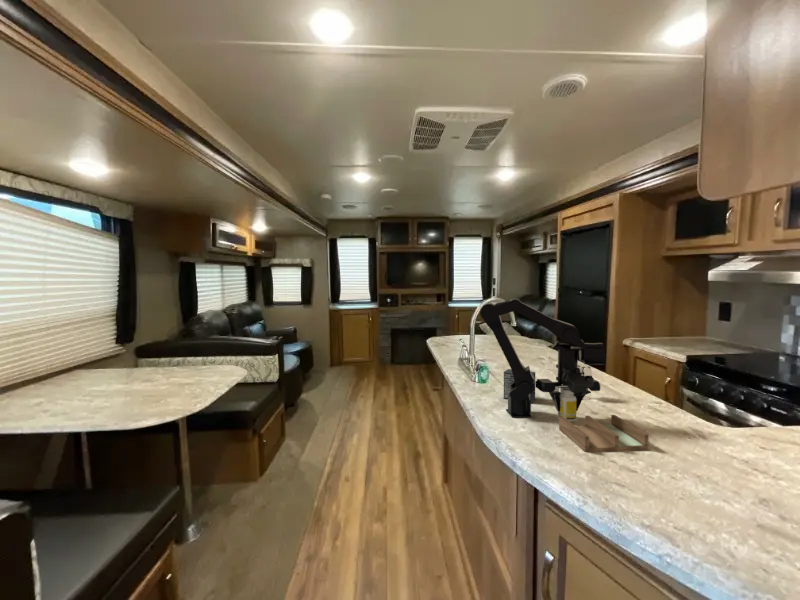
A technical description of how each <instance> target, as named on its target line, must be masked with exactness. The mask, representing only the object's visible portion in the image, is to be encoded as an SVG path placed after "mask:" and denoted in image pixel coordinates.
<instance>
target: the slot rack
mask: <svg viewBox="0 0 800 600" xmlns="http://www.w3.org/2000/svg"><path fill="white" fill-rule="evenodd" d="M610 416H611V419H610V424H602V423H601V422H599V421H597V420H596V419H595V418H593V417H591V416H590V415H585V418H584V419H585V422H584V425H574V424H573V423H572V422H571V421H568V420H567V419H565V418H564V417H563V416H559V418H558V424H559V425H558V429H559V432H561V433H562V434H564V435H565V436H566V437H567V438H568V439H569V440H571V442H573V443H574V444H575V445H576V446H577V447H579V448H580V449H581V450H582V451H583V452H585V453H589V452H591V453H592V452H622V451H648V450H649V437H650V435H649V434H648V433H646V432H644V431H642V430H641V429H639V428H638V427H636V426H635V425H633V424H631V423H629V422H628V421H626V420H624V419H623V418H621V417H619V416H617V415H615V414H611V415H610Z"/></svg>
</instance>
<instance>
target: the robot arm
mask: <svg viewBox="0 0 800 600" xmlns="http://www.w3.org/2000/svg"><path fill="white" fill-rule="evenodd" d="M512 312H515V313H517V314H519V315H521V316H523V317H525V318H527V319H528V320H530V321H531V322H534V323H536V324H538V325H539V326H541V327H543V328H546V329H547V330H548V331H549V332H551V333H552V334H553V335H554V336H555V337H557V338H558V339H559V340H560V341H562V342H563V343H560V342H559V341H558V340H556V341H555V343H553V344H552V345H551V349H553V350H557V364H555V368H556V369H557V376H555V380H556V381H552V380H551V379H549V378H537V380H536V377H535V378H534V375H533V374H532V373H531V372H532V371H531V368H530V365H528V366H526V367H525V366H524V365H523V363H522V361H521V360H520V358H519V355H518V353H517V352H516V350H515V347H514V346H513V343H512V342H511V339H510V338H509V336H508V333H507V331H506V329H505V327H504V325H503V321H502V317H501V316H502V315H503V316H504V315H506V314H509V313H512ZM479 315H480V317H481V319H482V320H483V321H484V323H485V324H486V325H487V326H488V327H489V329H490V330H491V332H492V333H493V335H494V337H495V339H496V342H497V343H498V345H499V347H500V349H501V351H502V353H503V355H504V357H505V360H506V362H507V363H508V365H509V367H510V369H511V370H512V374H513V378H514V381H515V382H514V383H512V384H511V385H510V392H509V394H508V400H507V408H505V411H506V412H507V413H508V414H509V416H510V417H511V418H532V414H531V413H532V403H531V401H530V400H529V399H530V397H529V396H528V395H529V394H530V393H532V392H533V391H534V388H535V389H538V390H539V391H541V392H542V393H549V395H550V398H551V400H552V402H553V404H554V406H555V409H556V411H557V413H558V412H560V395H561V392H560V390H559V389H561V388H569V389H570V391H571V392H572V393H574V394H573V395H574V396H575V397H576V412H578V411H579V409H580V406H581V404H582V401H583V400H582V399H583V398H584V396H587V395H588V394H591V393H592V392H600V391H601V383H600V381H598V380H596V379H595V378H594V377H593V375H592V376H581V374H580V368H578V359H579V361H580V362H582V363H583V364H584V365H593V366H595V365H597V366H605V364H606V359H607V357H606V350H605V347H604V346H605V345H604V343H603V342H595V343H593V342H584V340H583V339H581V338H580V331H579V330H578V328H577V327H575V325H573V324H572V323H568V322H566V321H562V320H560V319H556V318H553V317H551V316H550V315H549V316H548V315H547V314H545V313H543V312H541V311H539V310H537V309H536V308H533V307H532V306H531V305H530V306H529V305H528V304H526V303H523V302H522V301H521V300H520V299H518V298H511V299H510V300H505V301H502V302H498V303H493V302H487V303H485V304H483V306H482V307H481V308H480V311H479ZM571 344H573V345H574V346H571ZM534 382H535V385H534Z"/></svg>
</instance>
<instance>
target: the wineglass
mask: <svg viewBox="0 0 800 600" xmlns="http://www.w3.org/2000/svg"><path fill="white" fill-rule="evenodd" d="M578 368H580V374H581V376H592V377H593V372H592V368H591V366H589V365H586V364H584V365H583V364H581V365H578ZM590 399H591V398H590V397H588V396H587V395H585V396H584V398H583V399H582V401H588V400H589V401H590Z"/></svg>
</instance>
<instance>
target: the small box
mask: <svg viewBox="0 0 800 600" xmlns="http://www.w3.org/2000/svg"><path fill="white" fill-rule="evenodd" d="M531 373H532V374H533V375H534V378H535V379H536V371H531ZM514 382H515V381H514V378H513V374H512V370H511V368H507V369H506V370H504V371H503V398H502V399H503V400H507V401H508V394H509V392H510V385H511V384H512V383H514ZM534 385H535V386H536V381H535V382H534ZM528 396H529V397H530V399H529V400H530V401H531V404H533V402H534V401H535V400H536V387H535V388H534V391H533V392H532V393H530V394H529V395H528Z"/></svg>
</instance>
